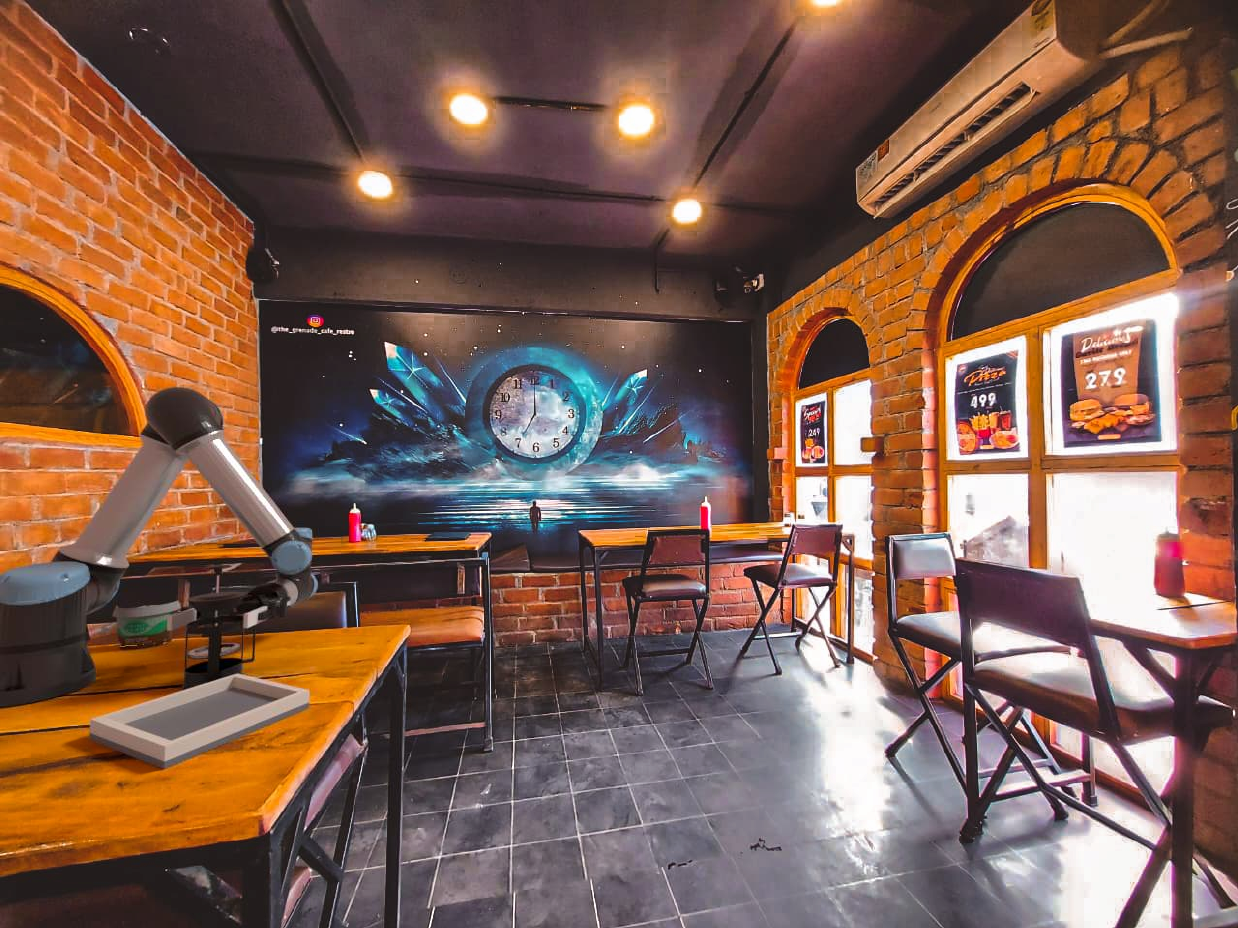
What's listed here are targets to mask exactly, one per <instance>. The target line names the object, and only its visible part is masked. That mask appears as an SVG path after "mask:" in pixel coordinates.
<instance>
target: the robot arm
mask: <svg viewBox="0 0 1238 928" xmlns="http://www.w3.org/2000/svg"><path fill="white" fill-rule="evenodd" d="M148 399H149V400H147V401H146V405H145V408H144V413H145V415H144V416H145V418H146V421H147V423H146V425H145V426H144V427H143V428H142V430H141V432H140V433H139V438H140V439H141V440H140V441H141V443H142V445H141V447H140V448H139V450H138V451H137V453H136V454H135V456H134V457H133V458H132V460H131V462H130V463H129V464H128V466H127V467H126V469H125V470H124V471H123V473H122V474H121V476H120V477H119V478H118V480H117V481H116V483H115V484H114V486H113V488H111V490H110V492H109V493H108V495H106V497H105V499H104V500H103V502H102V503H101V504H100V506H99V507H98V509H97V511H96V512H95V513H94V514H93V516H92V517H91V519H90V520H89V522H88V523H87V524H86V526H85V528H84V529H83V530H82V532H81V533H80V535H79V536H78V538H76V540H75V542H73V543H72V544H68V545H65V546H61V547H59V549H58V550H57V552H56V553H55V555H54V556H53V557H52V558H51V560H50V561H49V562H41V563H33V564H30V565H29V564H28V565H24V566H18V567H14V568H12V569H11V568H10V569H9V570H6V571H4V572H2V573H1V574H0V708H4V707H12V706H19V705H20V706H21V705H26V704H30V703H35V702H39V701H40V702H42V701H44V700H49V699H53V698H57V697H60V696H64V695H67V694H70V693H74V692H77V691H79V690H81V689H84V688H86V687H88V686H90V685H92V684H93V683H94V682H96V679H97V668H96V665H95V662H94V660H93V658H92V656H91V653H90V650H89V648H88V646H87V644H86V633H87V632H86V631H87V630H86V629H87V615H89V614H92V613H94V612H97V611H98V610H100V609H102V608H104V606H106V604H109V602H110V601H111V600H112V599H113V598H115V595H116V594H117V593H118V590H119V587H120V582H121V579H122V577H123V576H124V574H125V573H126V571H127V569H128V568H129V566H130V563H129V562H128V561H129V560H128V559H127V554H128V553H129V551H130V550H131V548H132V547H133V546H134V545H135V542H136V541H137V540H138V538H139V536H140V535H141V534H142V531H143V530H144V529H145V527H146V526H147V524H148V522H149V521H150V520H151V518H152V516H153V515H154V513H155V512H156V510H157V509H158V508H159V506H160V505H161V503H162V502H163V499H165V497H166V495H167V494H168V492H169V491H170V489H171V488H172V486H173V485H174V484H175V481H176V480H177V479H178V477H179V476H180V474H181V473H182V471H183V470H184V468H185V466H186V465H187V463H188V462H190V463H191V464H192V465H193V467H194V468H195V469H196V470H197V471H198V473H199V474H200V475H201V476H202V477H203V479H204V480H205V481H206V483H208V485H209V486H210V487H211V488H212V490H213V491H214V492H215V493H216V494H217V495H218V497H219V498H220V500H222V502H223V503H224V504H225V506H226V507H228V509H229V510H230V511H231V513H232V514H233V515H234V516H235V518H236V519H237V520H238V521H239V522H240V524H241V525H242V526H243V527H244V528H245V530H246V531H247V532H248V533H249V535H250V536H251V537H252V538H253V539H254V541H256V543H257V544H258V545H259V547H260V548H261V550H262V551H263V552H264V554H265V555H266V556H267V557H268V558H269V560H270V562H271V565H272V567H273V568H274V569H275V571H276V572H275V573H276V575H275V579H274V580H271V581H268V582H266V583H262V584H259V585H257V586H254V587H253V588H252V589H250V590H249V591H248V592H247V594H245V596H243V598H242V605H241V606H239V607H235V608H231V609H226V610H220V611H218V616H228V615H238V616H240V615H243V617H244V622H243V628H244V629H248V628H251V627H253V625H256V626H257V625H258V624H260V623H262V622H265V621H267V620H268V619H270V620H273V619H275V618H276V617H277V616H279V617H278V618H282V619H284V618H286V617H287V611H288V610H289V609H291V607H294V606H296V605H298V604H301V603H305V602H306V601H307V600H309V599H310V598H311V597H313V596H315V595H314V594H316V592H317V590H318V587H319V584H318V580H317V578H316V576H315V575H314V574H313V573H312V559H313V541H314V539H313V530H312V528H310V527H294V526H293V525H292V523H291V522H290V521H289V520H288V518H287V517H286V516H285V514H284V513H283V512H282V511H281V509H280V508H279V507H278V505H277V504H276V503H275V501H274V500H273V499H272V497H270V495H269V493H267V492H266V490H265V489H264V488H263V486H262V485H261V484H260V483H259V481H258V480H257V479H256V478H255V476H254V475H253V473H252V472H251V471H250V469H249V468H248V467H247V465H246V464H244V462H243V460H241V458H240V457H239V456H238V454H237V453H236V452H235V450H234V449H233V447H231V445H230V444H229V443H228V442H227V440H226V439H225V434H226V430H225V429H224V428H223V427H224V423H225V422H224V417H223V416H224V415H223V413H222V411H221V409H220V407H219V406H218V405H217V404H216V403H215V402H214V401H212V400H210V399H209V398H208V397H206V395H204V394H203V393H201V392H199V391H197V390H195V389H193V388H189V387H186V386H185V387H184V386H173V387H172V386H171V387H167V388H163V389H162V390H159V391H157V392H155V393H154V394H152V396H150V398H148ZM235 610H236V611H235ZM210 617H215V611H211V612H198V611H196V610H195V609H194V608H193V606H192V605H189V606H183V607H181V608H180V612H177V613H176V614H173V615H170V616H168V621H167V631H172V630H173V631H174V630H176V629H179V628H182V627H185V626H186V625H187V624H188V623H190V622H192V621H196V620H200V619H204V618H210Z"/></svg>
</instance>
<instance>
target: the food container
mask: <svg viewBox="0 0 1238 928" xmlns="http://www.w3.org/2000/svg"><path fill="white" fill-rule="evenodd" d="M181 608H182V607H181V602H179V599H178V600H176V601H172V602H169V603H164V604H146V605H142V606H141V605H140V606H137V607H129V608H128V607H127V608H126V607H125V608H124V607H118V605H116V606H115V608H114V610H113V613H112V617H113V618H116V624H117V625H116V627H117V635H118V636H117V637H118V648H119V650H121V651H135V650H136V651H137V650H144V649H150V648H156V647H160V646H163V645H167V643H165V644H163V643H164V642H169V643H170V642H171V641H173V636H174V635H173V634H174V630H172V631H167V621H168V616H170V615H173V614H177V613H178V610H181ZM154 643H155V644H154ZM143 644H144V645H143ZM125 645H137V646H125ZM119 646H125V647H119Z"/></svg>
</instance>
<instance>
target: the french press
mask: <svg viewBox="0 0 1238 928" xmlns="http://www.w3.org/2000/svg"><path fill="white" fill-rule="evenodd" d="M228 568H232V565H231V564H216V565H215V564H214V565H209V566H205V567H204V569H205V570H214V571H215V572H214V575H215V576H216V590H215V591H216V592H211V593H210V592H209V593H206V594H205V593H204V594H200V595H196V596H192V597H189V598H187V603H190V604H191V606H193V608H194V609H195V610H196V611H198V612H211V611H215V617H210V618H204V619H198V620H196V621H192V622H190V623H188V624H187V625H185V626H186V627H185V645H184V647H185V648H184V669H183V671H184V673H183V683H182V686H181V691H183V690H186V689H189V688H192V687H196V686H199V685H202V684H205V683H208V682H212V681H215V680H218V679H221V678H224V677H228V676H231V675H234V674H237V673H238V674H242V675H244V673H243V667H244V666H243V665H244V664H249V663H252V662H255V655H256V654H255V653H256V630H257V629H256V627H257V624H256V625H253V626H252V629H253V630H252V631H253V632H252V633H253V634H252V650H251V651H252V653H251V654H252V657H251V658H246V659H243V658H244V640H245V639H244V637H245V628H243V622H244V615H228V614H227V615H221V616H218V611H220V610H226V609H231V608H234V609H235V607H239V606H241V605H242V598H243V596H246V592H243V591H220V589H219V588H220V576H222V570H223V569H228ZM223 623H224V624H223ZM207 625H210V626H207ZM241 627H242V628H241ZM238 628H241V630H242V631H241V634H242V635H241V643H237V642H224V643H223V632H227V631H232V630H235V629H238ZM207 634H208V645H206V646H205V645H204V646H200V647H197V648H195V649H192V650H190V651H188V648H189V647H188V645H189V635H207ZM240 650H241V653H240V654H241V656H240V658H239V657H225V656H229V655H232V654H234V653H237V652H239V651H240ZM188 659H190V660H203V661H201V662H198V663H194V664H192V665H189V666H188Z"/></svg>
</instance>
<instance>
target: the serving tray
mask: <svg viewBox="0 0 1238 928" xmlns="http://www.w3.org/2000/svg"><path fill="white" fill-rule="evenodd" d="M310 692H311V691H310V690H309V689H306V688H305V689H304V688H300V687H296V686H292V685H288V684H284V683H280V682H276V681H275V682H274V681H272V680H271V681H270V680H268V679H267V680H266V679H262V678H258V677H253V676H249V675H245V674H243V675H242V674H238V673H237V674H234V675H231V676H228V677H224V678H221V679H218V680H215V681H212V682H208V683H205V684H202V685H199V686H196V687H192V688H189V689H186V690H180V691H177V692H173V693H170V694H168V695H165V696H161V697H158V698H155V699H151V700H149V701H145V702H141V703H139V704H136V705H132V706H130V707H129V706H128V707H125V708H122V709H118V710H117V711H113V712H110V713H106V714H103V715H100V716H97V717H93V718H89V720H90V721H89V739H88V740H90V741H92V742H95V743H97V744H99V745H102V746H105V747H106V748H109V749H112V750H114V751H117V752H120V753H123V754H124V755H128V756H130V757H133V758H135V759H138V760H140V761H142V762H145V763H147V764H150V765H153V766H156V767H158V768H161V769H163V770H167V769H168V768H170V767H173V766H175V765H178V764H180V763H182V762H184V761H187V760H190V759H191V758H194V757H196V756H199V755H201V754H203V753H206V752H209V751H211V750H213V749H215V748H217V747H218V748H219V747H220V746H223V745H224V744H225V745H226V744H227V743H229V742H232V741H235V740H237V739H240V738H241V737H244V736H247V735H248V734H250V733H253V732H256V731H258V730H260V729H263V728H265V727H268V726H271V725H272V724H274V723H277V722H279V721H281V720H284V719H287V718H288V717H291V716H294V715H295V714H296V715H297V714H299V713H301V712H303V711H305V710H308V709H310Z"/></svg>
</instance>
